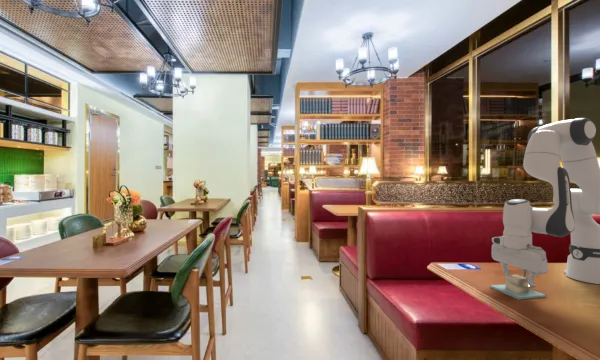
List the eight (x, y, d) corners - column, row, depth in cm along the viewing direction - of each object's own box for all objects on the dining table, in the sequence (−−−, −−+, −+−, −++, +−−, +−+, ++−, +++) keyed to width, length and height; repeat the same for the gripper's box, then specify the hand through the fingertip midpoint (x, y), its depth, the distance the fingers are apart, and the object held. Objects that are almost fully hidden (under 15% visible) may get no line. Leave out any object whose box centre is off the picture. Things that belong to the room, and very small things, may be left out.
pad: (515, 285, 117) (515, 283, 117) (545, 297, 105) (545, 294, 105) (490, 287, 115) (490, 285, 115) (518, 299, 103) (518, 297, 103)
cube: (516, 287, 113) (516, 274, 113) (528, 291, 108) (528, 278, 108) (505, 288, 112) (505, 275, 112) (517, 292, 107) (517, 279, 107)
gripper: (552, 247, 100) (553, 287, 100) (501, 236, 120) (501, 269, 120) (537, 248, 99) (538, 289, 99) (488, 237, 119) (488, 270, 119)
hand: (517, 278), depth 110 cm, fingers open, 8 cm apart
